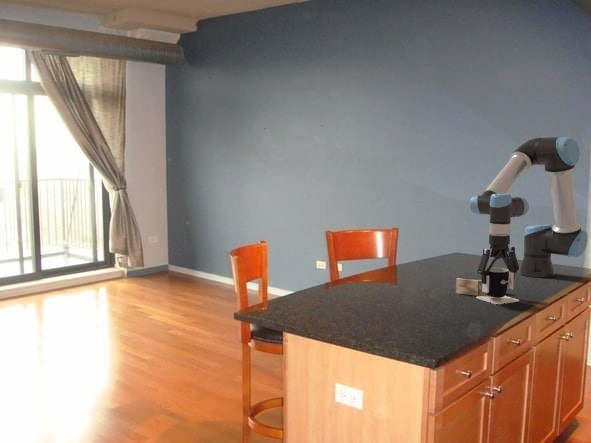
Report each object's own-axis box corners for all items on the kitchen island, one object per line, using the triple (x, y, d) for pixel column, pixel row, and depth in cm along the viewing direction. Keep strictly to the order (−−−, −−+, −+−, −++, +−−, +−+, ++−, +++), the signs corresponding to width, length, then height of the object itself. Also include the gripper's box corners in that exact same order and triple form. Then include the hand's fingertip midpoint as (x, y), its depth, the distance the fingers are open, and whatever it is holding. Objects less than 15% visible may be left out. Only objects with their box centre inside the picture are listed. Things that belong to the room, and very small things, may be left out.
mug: (500, 299, 214) (501, 273, 213) (479, 295, 221) (479, 269, 220) (516, 294, 222) (517, 268, 221) (495, 290, 229) (495, 265, 227)
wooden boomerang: (488, 288, 240) (488, 274, 239) (502, 292, 233) (502, 278, 232) (454, 292, 233) (455, 278, 232) (468, 297, 226) (468, 282, 225)
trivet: (497, 295, 229) (498, 293, 229) (518, 301, 219) (519, 299, 219) (476, 298, 224) (476, 296, 224) (496, 304, 214) (496, 303, 214)
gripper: (515, 231, 227) (513, 285, 229) (468, 235, 217) (466, 291, 220) (530, 233, 220) (528, 289, 222) (482, 237, 210) (480, 295, 213)
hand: (497, 290), depth 221 cm, fingers closed on mug, 11 cm apart
